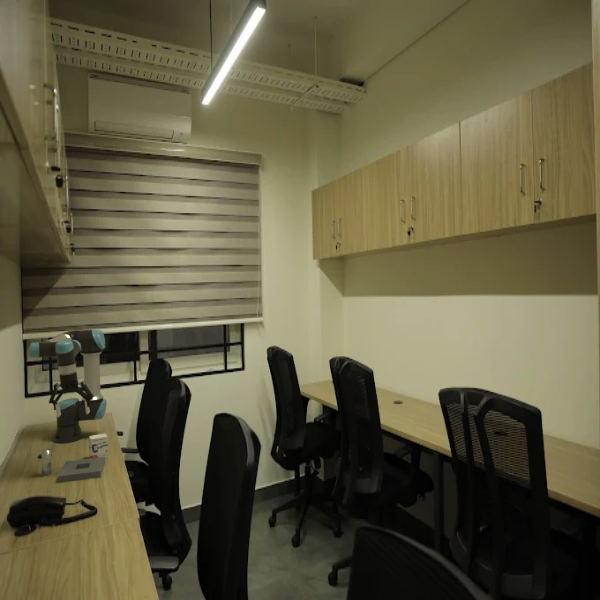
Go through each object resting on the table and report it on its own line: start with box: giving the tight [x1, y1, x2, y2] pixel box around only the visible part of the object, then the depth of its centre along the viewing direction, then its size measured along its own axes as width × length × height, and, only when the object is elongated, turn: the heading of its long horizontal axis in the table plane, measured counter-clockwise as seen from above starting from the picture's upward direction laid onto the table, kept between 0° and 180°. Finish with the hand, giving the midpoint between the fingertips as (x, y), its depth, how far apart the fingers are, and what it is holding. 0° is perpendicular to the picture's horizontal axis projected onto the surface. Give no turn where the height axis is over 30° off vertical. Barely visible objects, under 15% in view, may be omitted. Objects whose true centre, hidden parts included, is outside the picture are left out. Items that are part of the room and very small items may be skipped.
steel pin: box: [41, 448, 53, 477], centre depth 210 cm, size 4×4×12 cm
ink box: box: [88, 433, 109, 459], centre depth 231 cm, size 8×5×12 cm, turn 123°
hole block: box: [57, 457, 106, 483], centre depth 213 cm, size 18×18×3 cm
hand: (73, 414), depth 216 cm, fingers open, 13 cm apart
